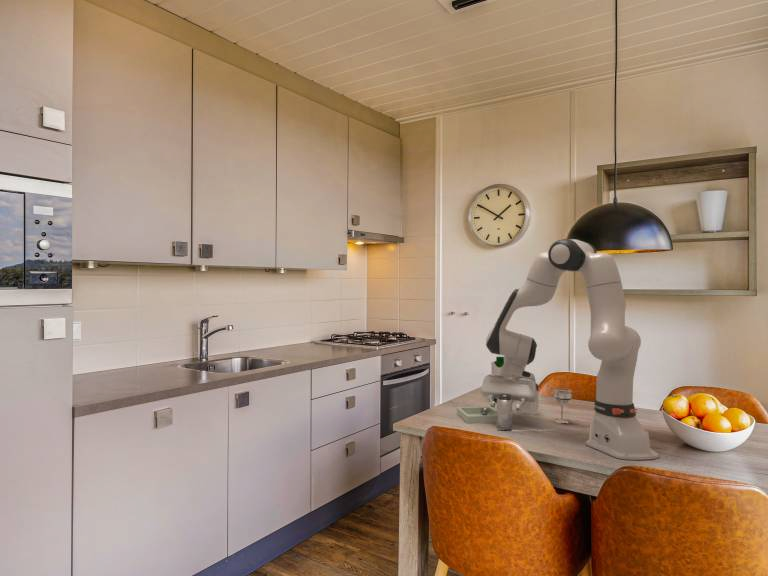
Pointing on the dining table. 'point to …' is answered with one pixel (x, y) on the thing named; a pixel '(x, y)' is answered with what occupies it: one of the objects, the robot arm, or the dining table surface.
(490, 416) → the tray
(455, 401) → the dining table surface
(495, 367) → the milk carton
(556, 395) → the wineglass
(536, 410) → the jar
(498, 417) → the shaker
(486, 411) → the ball
